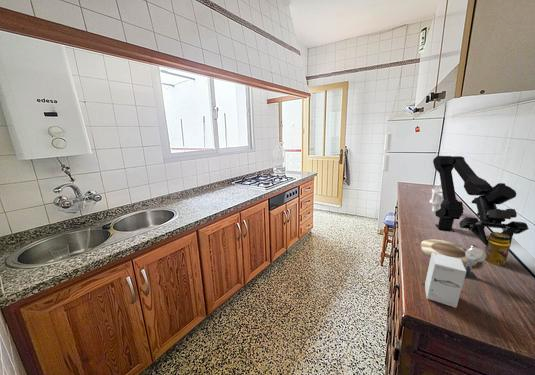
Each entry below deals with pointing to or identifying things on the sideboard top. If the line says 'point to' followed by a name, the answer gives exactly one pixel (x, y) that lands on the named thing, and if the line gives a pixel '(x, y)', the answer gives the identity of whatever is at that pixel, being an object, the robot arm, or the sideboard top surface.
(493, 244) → the condiment
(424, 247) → the ring
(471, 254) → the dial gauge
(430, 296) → the supplement box
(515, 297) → the sideboard top surface
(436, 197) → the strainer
